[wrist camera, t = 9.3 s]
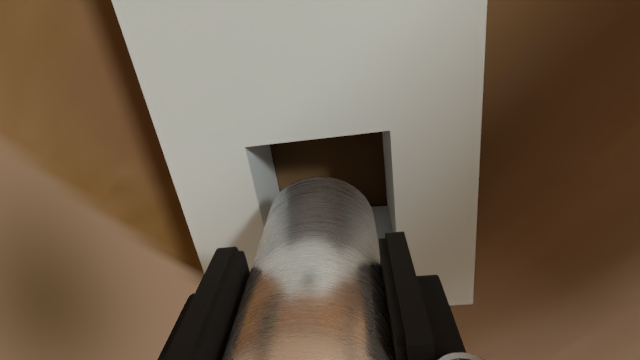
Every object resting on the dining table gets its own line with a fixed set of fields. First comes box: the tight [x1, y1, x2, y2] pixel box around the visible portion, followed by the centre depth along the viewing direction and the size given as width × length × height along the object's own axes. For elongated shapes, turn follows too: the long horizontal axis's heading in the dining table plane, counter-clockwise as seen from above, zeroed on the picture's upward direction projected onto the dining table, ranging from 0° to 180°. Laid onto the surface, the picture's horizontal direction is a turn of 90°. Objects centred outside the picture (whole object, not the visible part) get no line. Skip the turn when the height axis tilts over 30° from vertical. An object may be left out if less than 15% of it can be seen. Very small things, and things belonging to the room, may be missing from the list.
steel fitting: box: [222, 176, 395, 360], centre depth 10 cm, size 4×4×10 cm
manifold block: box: [111, 0, 487, 306], centre depth 15 cm, size 12×22×4 cm, turn 8°
